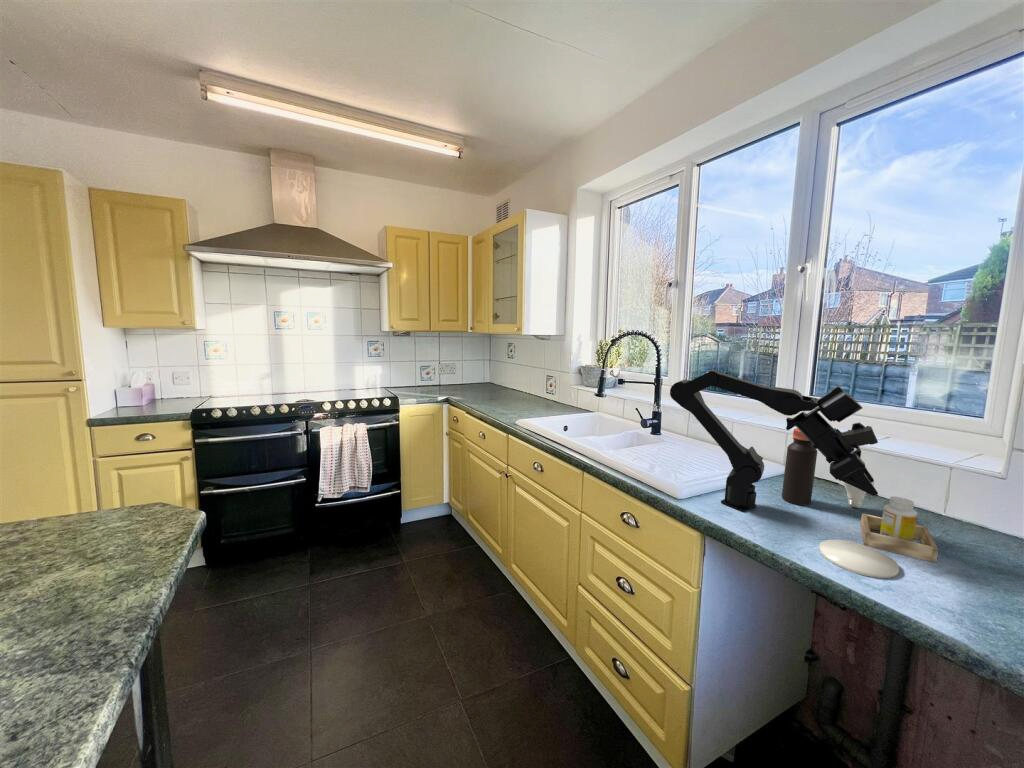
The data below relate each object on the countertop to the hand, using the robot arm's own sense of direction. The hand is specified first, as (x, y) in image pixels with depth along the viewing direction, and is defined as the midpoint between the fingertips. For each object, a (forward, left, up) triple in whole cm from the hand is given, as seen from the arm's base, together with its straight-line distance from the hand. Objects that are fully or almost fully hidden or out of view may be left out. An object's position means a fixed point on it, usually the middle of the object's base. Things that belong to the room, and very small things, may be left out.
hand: (873, 488), depth 97 cm
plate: (+4, -14, -12) cm, 19 cm away
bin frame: (+5, +2, -12) cm, 13 cm away
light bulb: (-8, +15, -12) cm, 21 cm away
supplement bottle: (+5, +2, -12) cm, 13 cm away
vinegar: (-18, +6, -12) cm, 23 cm away
